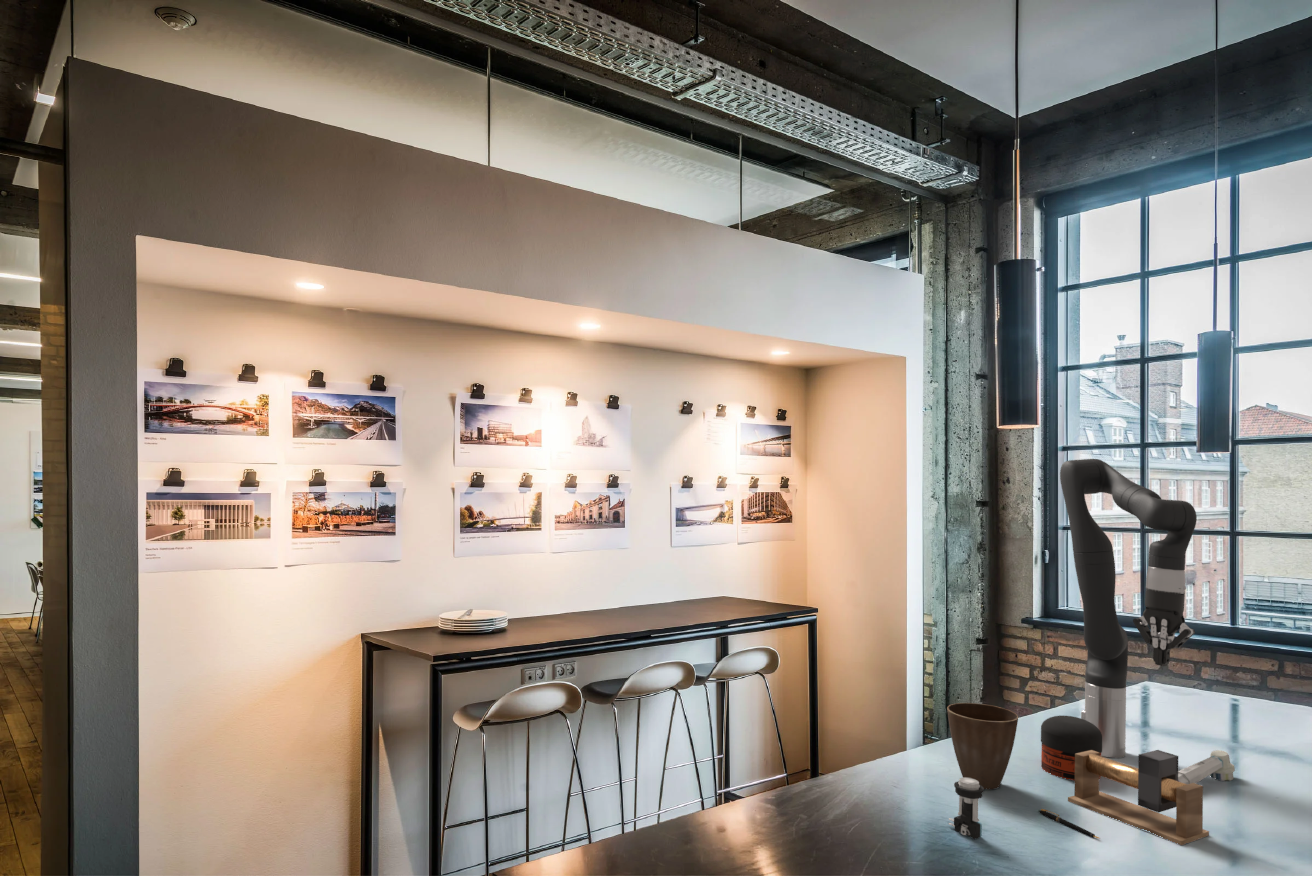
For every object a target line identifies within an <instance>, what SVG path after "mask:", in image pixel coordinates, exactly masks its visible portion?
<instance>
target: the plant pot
mask: <svg viewBox="0 0 1312 876" xmlns="http://www.w3.org/2000/svg"><path fill="white" fill-rule="evenodd" d="M946 709H947V711H946V712H947V718H948V726H949V731H950V736H951V742H952V746H953V750H954V753H955V758H956V761H957V765H958V766H959V767H958V768H959V771H960V774H961V776H962V778H972V779H975V780H977V781H978V782H979V785H981V786H982V787H983V788H984V790H997V789H998V788H1000V786H1001V784H1002V781H1003V778H1004V776H1005V773H1006V771H1007V768H1008V765H1009V763H1010V759H1011V756H1012V753H1013V748H1014V745H1015V740H1016V736H1017V735H1016V733H1017V727H1018V722H1019V716H1018V714H1017V713H1016V712H1014V711H1012V710H1010V709H1007V708H1005V707H999V706H996V705H991V704H984V703H975V702H973V703H972V702H959V703H953V704H949V705H948V706H947V707H946Z"/></svg>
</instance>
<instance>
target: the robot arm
mask: <svg viewBox="0 0 1312 876" xmlns="http://www.w3.org/2000/svg"><path fill="white" fill-rule="evenodd" d="M1059 475H1060V476H1059V479H1060V480H1059V481H1060V485H1061V489H1062V490H1061V491H1062V495H1063V499H1064V504H1065V508H1066V512H1067V516H1068V521H1069V529H1070V535H1071V545H1072V552H1073V561H1074V568H1075V572H1076V579H1077V583H1078V587H1079V592H1080V596H1081V597H1080V598H1081V601H1082V609H1083V641H1084V645H1085V647H1086V649H1087V656H1086V657H1087V658H1086V659H1087V660H1086V667H1085V672H1084V673H1085V675H1084V681H1085V682H1084V684H1085V685H1084V709H1083V710H1081V712H1080V718H1081V719H1084V720H1086V721H1089V722H1090V723H1092V724H1094V725H1095V726H1096V727H1097V728H1098V729H1099V730H1100V731H1101V734H1102V752H1101V756H1102V757H1105V758H1113V759H1114V758H1117V759H1119V758H1124V757H1125V756H1126V749H1127V747H1126V735H1127V734H1126V733H1127V732H1126V728H1127V727H1126V725H1127V724H1126V722H1127V719H1126V718H1127V707H1126V706H1127V677H1128V662H1129V661H1128V659H1129V658H1128V656H1129V655H1128V654H1129V643H1128V642H1129V640H1128V638H1129V637H1128V634H1127V632H1126V630H1125V629H1124V627H1123V626H1121V624H1119V620H1118V615H1117V611H1116V610H1117V609H1116V602H1115V598H1116V597H1115V596H1116V595H1115V594H1116V579H1117V577H1116V560H1115V556H1114V548H1113V544H1112V541H1111V539H1110V538H1109V537H1108V535H1107V534H1106V533H1105V531H1104V530H1103V529H1102V528H1101V526H1100V525H1099V524H1098V523H1097V522H1096V520H1094V518H1093V516H1092V515H1091V513H1090V510H1089V509H1088V504H1087V501H1086V496H1085V495H1092V494H1093V495H1095V494H1099V493H1101V494H1102V493H1103V494H1108V495H1112V500H1113V502H1114V503H1115V504H1116V506H1117V507H1119V508H1120V509H1121V510H1123V511H1124V512H1127V513H1128V514H1130V515H1132V516H1135V518H1137V519H1138V521H1139V522H1141V524H1142V525H1144V526H1145V527H1147V528H1149V529H1152V530H1154V531H1155V530H1156V531H1167V534H1166V536H1165V537H1164V539H1160V540H1156V541H1152V542H1151V543H1150V544H1149V548H1148V549H1149V550H1148V560H1147V561H1148V562H1147V563H1148V564H1147V565H1148V566H1147V572H1146V578H1145V595H1144V606H1145V609H1144V611H1142V612H1143V613H1142V615H1141V616H1139V617H1137V618H1133V619H1132V622H1133V625H1135V627H1136V628H1137V631H1138V632H1139V634H1140V636H1141V637H1142V639H1143V640H1144V642H1145V644H1150V645H1151V647H1152V649H1153V655H1152V656H1153V657H1152V659H1153V662H1154V664H1155V665H1156V666H1160V667H1166V666H1167V665H1169V663H1170V662H1171V660H1170V659H1171V658H1170V657H1171V650H1173V649H1180V648H1181V647H1182V646H1183V645H1185V643H1186V642H1188V640H1189V639H1191V638H1192V637H1193V636H1194V635H1195V634H1196V631H1195V629H1194V628H1190V627H1189V625H1187V623H1186V619H1185V617H1184V611H1185V599H1186V589H1187V588H1186V586H1187V585H1186V572H1185V569H1186V552H1187V549H1188V547H1189V545H1190V543H1191V542H1190V541H1191V539H1192V536H1193V534H1194V531H1195V529H1196V526H1197V521H1198V520H1197V512H1196V509H1195V508H1194V506H1193V505H1192V503H1190V502H1189V501H1186V500H1181V499H1180V500H1178V499H1177V500H1176V499H1162V497H1161V496H1160V495H1159V494H1158V493H1157V492H1155V491H1154V490H1152V489H1150V488H1147V487H1145V486H1142V485H1140V484H1138V483H1135V482H1134V481H1131V480H1130V479H1128V477H1126V476H1124V475H1123V474H1122V473H1121V472H1119V471H1118V470H1116V469H1115V468H1114V467H1112V466H1111V465H1110V464H1109V463H1107V462H1105V461H1103V460H1101V459H1099V458H1085V459H1082V458H1081V459H1072V460H1071V459H1070V460H1066V461H1064V462H1063V463H1062V465H1061V467H1060V472H1059ZM1176 633H1179V634H1178V635H1177V636H1176V635H1175V634H1176Z"/></svg>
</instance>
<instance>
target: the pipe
mask: <svg viewBox="0 0 1312 876" xmlns="http://www.w3.org/2000/svg"><path fill="white" fill-rule="evenodd" d="M1086 769H1087V771H1088V772H1090V773H1093V774H1096V775H1099V776H1101V778H1104V779H1108V780H1110V781H1113V782H1117V783H1119V784H1122V785H1125V786H1127V787H1129V788H1130V787H1131V788H1133V789H1136V790H1138V767H1135V766H1132V765H1130V764H1129V765H1128V764H1125V763H1123V762H1121V761H1117V760H1114V759H1111V758H1109V757H1105V756H1099V755H1096V754H1090V755H1089V756H1088V757H1087V759H1086ZM1184 785H1187V784H1184V783H1181V782H1178V781H1175V780H1172V779H1169V778H1166V777H1162V778H1161V797H1162V798H1165V799H1167V800H1170V801H1173V802H1176V789H1177V787H1180V786H1184Z"/></svg>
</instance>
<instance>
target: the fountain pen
mask: <svg viewBox="0 0 1312 876" xmlns="http://www.w3.org/2000/svg"><path fill="white" fill-rule="evenodd" d="M1037 812H1038V813H1039V814H1040V815H1042V816H1043V817H1045V818H1046V819H1047V818H1048V819H1049V820H1052V821H1053V820H1054V821H1053V822H1056V823H1058V824H1061V825H1063V826H1065V827H1067V828H1068V829H1072V830H1073V831H1076V832H1078V833H1081V834H1082V835H1086V836H1088V837H1090V838H1092V839H1101V837H1098V836H1097V835H1096V834H1095V833H1093V832H1091V831H1089V830H1087V829H1085V828H1083V827H1081V826H1078V825H1077V824H1075V823H1072V822H1071V821H1068V820H1066V819H1064V818H1062V817H1060V814H1057V813H1055V812H1053V811H1049V810H1047V809H1044V808H1041V809H1040V810H1039V809H1038V810H1037Z"/></svg>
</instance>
